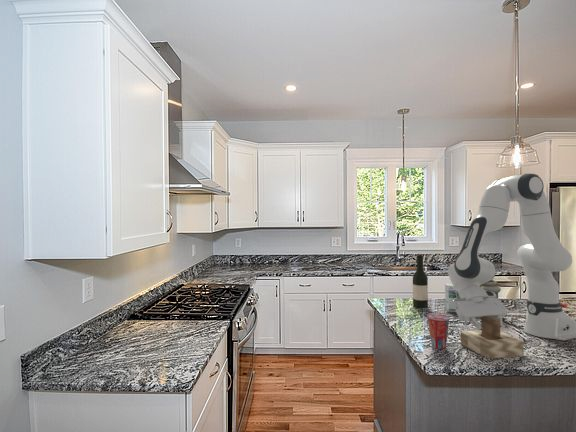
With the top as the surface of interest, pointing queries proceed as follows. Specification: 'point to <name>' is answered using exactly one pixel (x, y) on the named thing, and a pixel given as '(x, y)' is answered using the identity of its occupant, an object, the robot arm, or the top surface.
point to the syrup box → (450, 297)
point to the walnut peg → (490, 328)
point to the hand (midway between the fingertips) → (491, 328)
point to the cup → (438, 330)
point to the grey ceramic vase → (491, 287)
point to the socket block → (492, 345)
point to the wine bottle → (420, 285)
